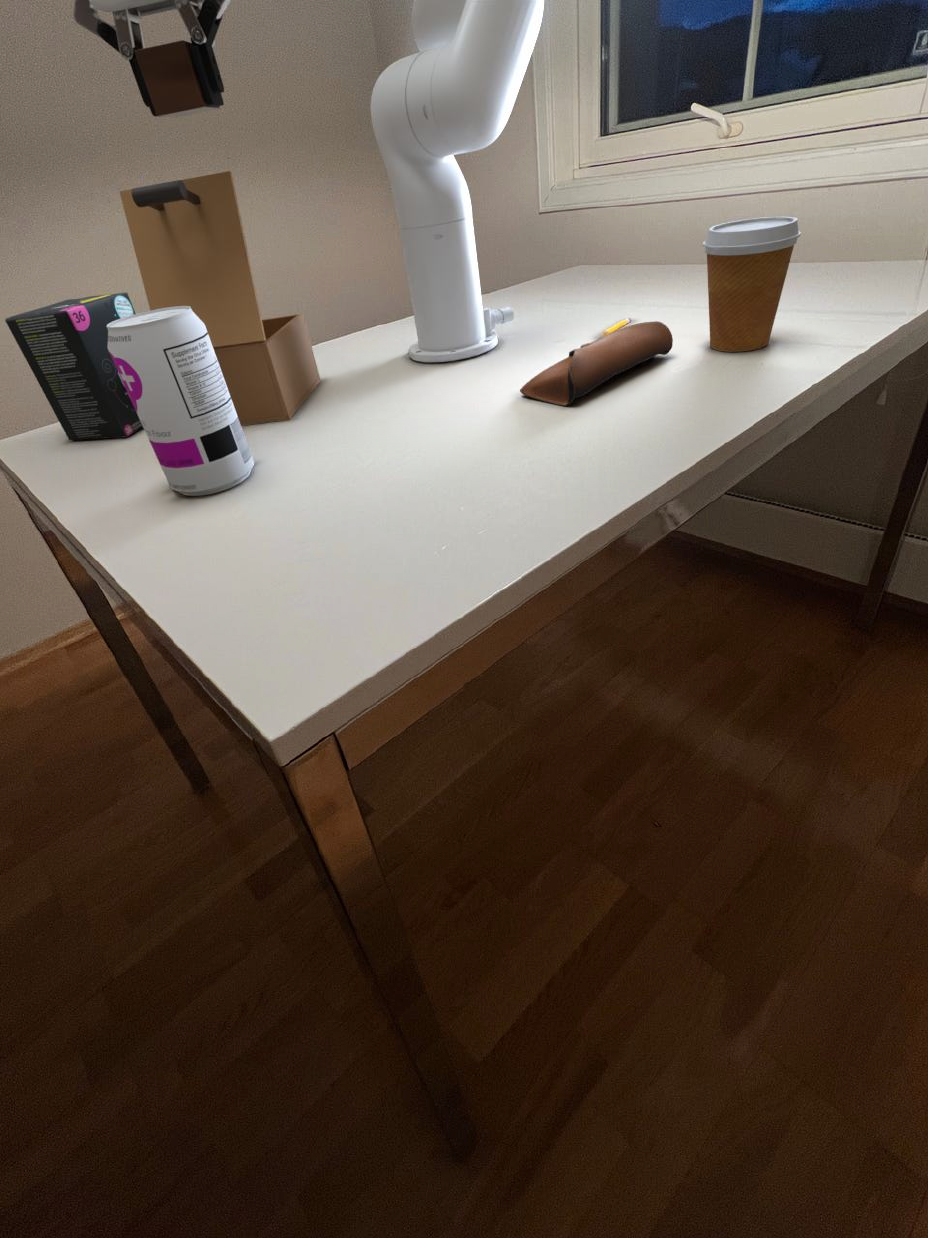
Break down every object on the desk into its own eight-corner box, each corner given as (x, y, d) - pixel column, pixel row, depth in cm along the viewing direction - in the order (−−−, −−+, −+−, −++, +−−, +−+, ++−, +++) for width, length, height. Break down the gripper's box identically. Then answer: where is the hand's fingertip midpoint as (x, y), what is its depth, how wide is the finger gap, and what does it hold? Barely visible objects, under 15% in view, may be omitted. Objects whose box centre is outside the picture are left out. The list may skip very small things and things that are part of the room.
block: (176, 117, 61) (155, 55, 58) (220, 108, 60) (201, 45, 57) (156, 116, 57) (133, 50, 54) (203, 106, 57) (182, 39, 54)
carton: (237, 391, 88) (214, 326, 83) (321, 380, 87) (302, 313, 82) (193, 431, 76) (163, 357, 71) (290, 419, 75) (266, 343, 69)
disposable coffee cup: (678, 346, 76) (684, 231, 69) (742, 328, 78) (754, 214, 71) (735, 361, 69) (749, 234, 61) (804, 341, 71) (825, 215, 64)
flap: (121, 192, 66) (91, 177, 61) (231, 172, 64) (208, 156, 60) (164, 354, 71) (138, 353, 67) (266, 340, 70) (247, 337, 65)
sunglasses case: (611, 346, 78) (636, 296, 72) (653, 381, 76) (682, 332, 71) (513, 392, 69) (533, 339, 64) (558, 433, 67) (583, 382, 62)
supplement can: (175, 507, 58) (96, 334, 49) (171, 477, 64) (101, 320, 56) (262, 482, 60) (201, 311, 51) (250, 455, 66) (194, 300, 58)
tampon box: (128, 438, 78) (67, 309, 69) (67, 442, 80) (0, 318, 71) (177, 407, 86) (128, 289, 78) (120, 412, 89) (67, 297, 80)
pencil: (631, 323, 89) (631, 317, 88) (601, 340, 84) (602, 334, 83) (625, 322, 89) (626, 317, 89) (596, 340, 84) (596, 334, 84)
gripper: (213, -203, 50) (286, 95, 61) (18, -152, 52) (123, 128, 62) (175, -250, 44) (264, 90, 55) (-43, -190, 46) (84, 127, 57)
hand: (188, 107), depth 58 cm, fingers closed on block, 4 cm apart
